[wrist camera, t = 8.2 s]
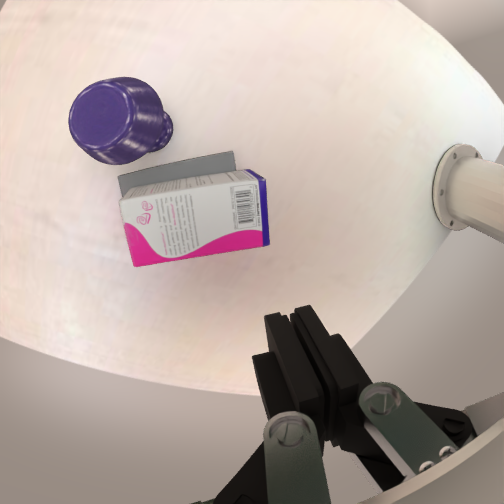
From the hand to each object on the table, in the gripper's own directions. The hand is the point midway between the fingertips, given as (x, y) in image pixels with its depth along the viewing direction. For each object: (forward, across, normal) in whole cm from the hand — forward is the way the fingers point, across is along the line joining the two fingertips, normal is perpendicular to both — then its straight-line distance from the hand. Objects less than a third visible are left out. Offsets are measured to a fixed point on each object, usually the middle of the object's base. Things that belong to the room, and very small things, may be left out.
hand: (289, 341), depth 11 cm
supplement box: (+17, -3, 0) cm, 18 cm away
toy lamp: (+20, +6, -9) cm, 23 cm away
